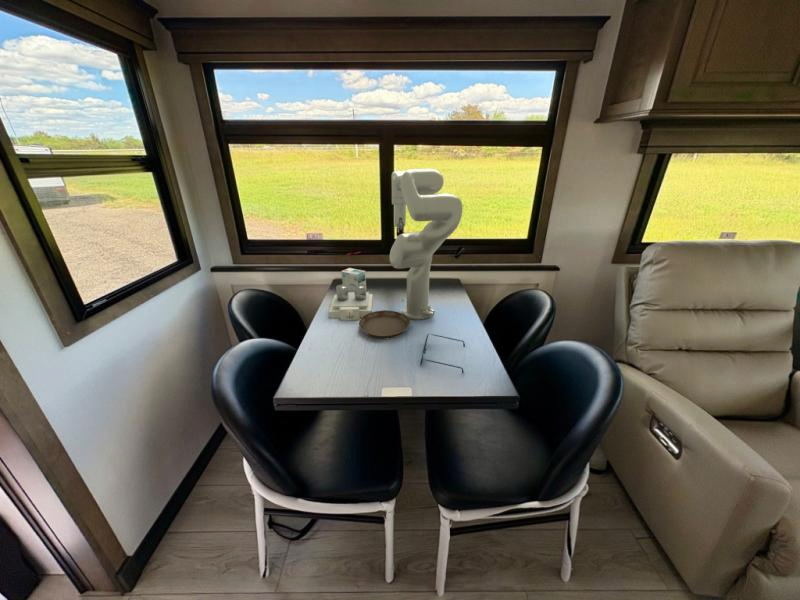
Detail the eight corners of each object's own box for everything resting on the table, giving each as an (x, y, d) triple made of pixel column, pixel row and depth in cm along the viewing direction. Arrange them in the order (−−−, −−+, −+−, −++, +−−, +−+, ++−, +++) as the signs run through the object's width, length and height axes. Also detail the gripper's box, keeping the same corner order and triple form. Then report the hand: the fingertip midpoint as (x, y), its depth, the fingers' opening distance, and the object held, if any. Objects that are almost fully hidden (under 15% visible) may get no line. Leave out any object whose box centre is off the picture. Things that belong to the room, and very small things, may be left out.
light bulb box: (366, 290, 171) (365, 270, 166) (358, 294, 166) (357, 274, 161) (350, 286, 176) (349, 267, 172) (342, 290, 171) (340, 270, 166)
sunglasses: (425, 343, 125) (427, 331, 123) (464, 351, 123) (466, 340, 121) (418, 370, 110) (421, 357, 108) (462, 380, 108) (466, 367, 106)
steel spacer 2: (368, 298, 150) (368, 286, 148) (360, 301, 146) (359, 289, 144) (360, 295, 153) (360, 283, 151) (352, 298, 150) (351, 286, 147)
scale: (372, 299, 160) (372, 290, 158) (371, 319, 141) (370, 309, 139) (335, 300, 160) (334, 290, 157) (328, 320, 141) (327, 310, 139)
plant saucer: (404, 344, 124) (404, 337, 122) (352, 339, 128) (351, 331, 126) (413, 319, 142) (414, 312, 141) (367, 315, 146) (367, 308, 145)
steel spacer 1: (351, 298, 150) (350, 286, 147) (342, 302, 146) (341, 289, 144) (343, 295, 153) (342, 283, 150) (334, 299, 149) (333, 286, 147)
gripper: (391, 198, 156) (392, 234, 163) (392, 203, 140) (392, 243, 147) (407, 197, 156) (407, 234, 163) (409, 203, 140) (409, 243, 147)
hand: (400, 238), depth 155 cm, fingers open, 9 cm apart
